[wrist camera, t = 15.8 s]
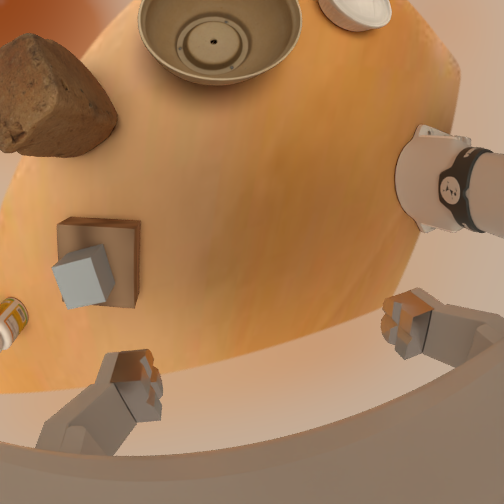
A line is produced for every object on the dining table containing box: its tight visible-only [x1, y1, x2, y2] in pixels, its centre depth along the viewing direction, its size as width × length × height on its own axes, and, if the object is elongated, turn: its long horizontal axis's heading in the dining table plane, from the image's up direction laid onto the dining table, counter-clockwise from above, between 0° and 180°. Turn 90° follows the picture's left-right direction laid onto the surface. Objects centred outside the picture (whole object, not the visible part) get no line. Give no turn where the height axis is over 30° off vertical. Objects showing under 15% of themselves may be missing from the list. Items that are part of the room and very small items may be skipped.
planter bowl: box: [138, 0, 302, 85], centre depth 26 cm, size 16×16×11 cm
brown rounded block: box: [0, 33, 117, 158], centre depth 20 cm, size 11×8×20 cm
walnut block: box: [57, 217, 140, 309], centre depth 34 cm, size 10×10×5 cm
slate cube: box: [52, 244, 115, 309], centre depth 29 cm, size 5×5×5 cm
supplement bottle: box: [0, 298, 28, 352], centre depth 30 cm, size 5×5×10 cm
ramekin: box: [318, 0, 392, 32], centre depth 29 cm, size 11×11×5 cm
